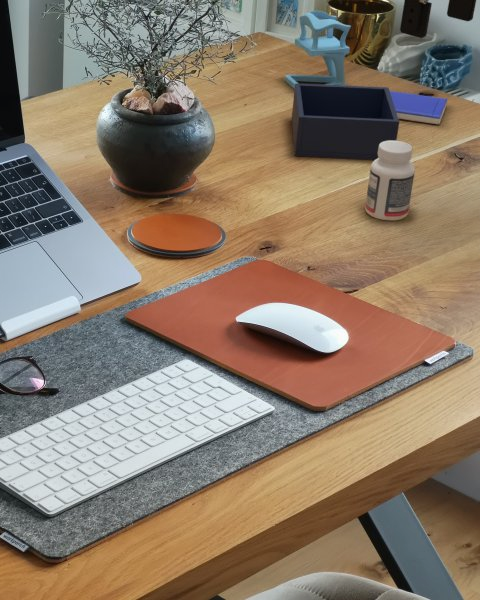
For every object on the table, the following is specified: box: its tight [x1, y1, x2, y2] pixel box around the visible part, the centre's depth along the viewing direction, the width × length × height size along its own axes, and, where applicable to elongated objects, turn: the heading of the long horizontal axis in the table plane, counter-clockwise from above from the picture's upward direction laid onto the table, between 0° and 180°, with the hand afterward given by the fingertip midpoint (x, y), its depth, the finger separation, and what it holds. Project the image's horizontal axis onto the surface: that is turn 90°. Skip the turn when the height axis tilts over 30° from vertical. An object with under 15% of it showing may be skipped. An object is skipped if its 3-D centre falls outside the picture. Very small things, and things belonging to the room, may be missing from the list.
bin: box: [291, 83, 400, 161], centre depth 158 cm, size 13×13×6 cm
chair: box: [284, 10, 352, 90], centre depth 175 cm, size 8×8×12 cm
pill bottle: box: [364, 140, 416, 221], centre depth 137 cm, size 5×5×9 cm
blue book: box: [389, 90, 448, 125], centre depth 169 cm, size 2×8×12 cm
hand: (436, 26), depth 131 cm, fingers open, 9 cm apart
